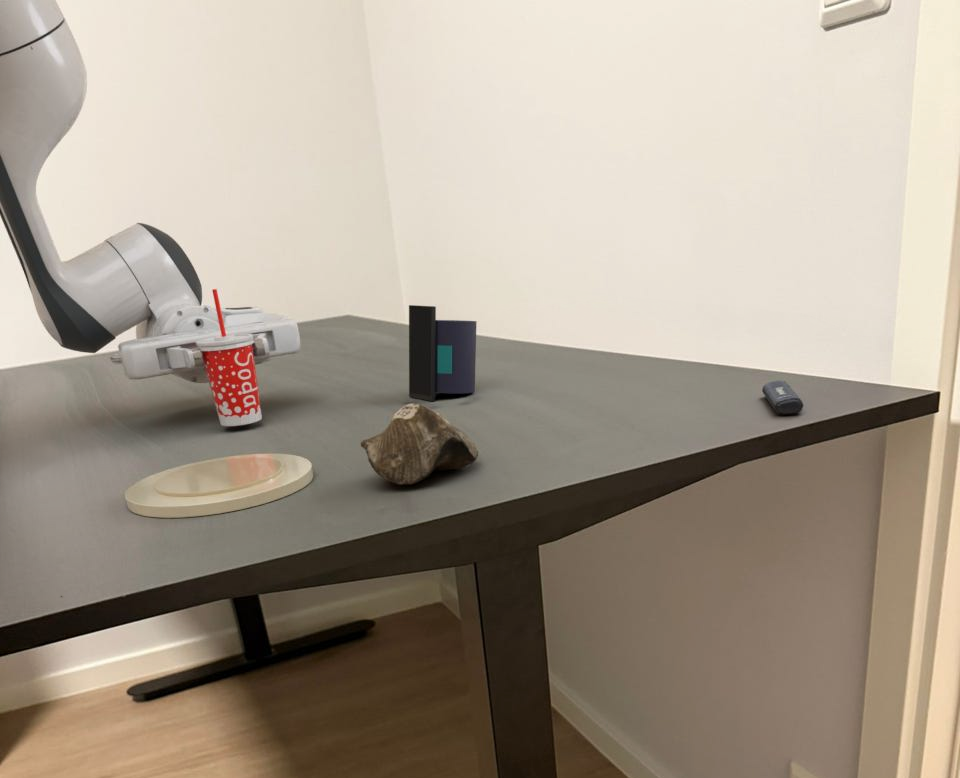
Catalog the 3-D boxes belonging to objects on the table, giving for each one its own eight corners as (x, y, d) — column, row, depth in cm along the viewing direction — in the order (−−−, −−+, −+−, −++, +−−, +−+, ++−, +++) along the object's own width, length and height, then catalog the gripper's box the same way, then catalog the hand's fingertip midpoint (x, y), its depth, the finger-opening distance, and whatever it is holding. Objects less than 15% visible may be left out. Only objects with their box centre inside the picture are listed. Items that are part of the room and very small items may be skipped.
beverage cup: (226, 430, 103) (197, 293, 97) (205, 423, 108) (176, 292, 102) (277, 418, 106) (252, 285, 100) (255, 412, 111) (230, 285, 105)
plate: (98, 525, 77) (93, 510, 76) (163, 472, 91) (159, 459, 91) (293, 508, 76) (290, 492, 75) (327, 457, 90) (325, 443, 90)
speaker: (417, 402, 109) (413, 306, 105) (408, 397, 114) (405, 305, 110) (481, 399, 110) (480, 304, 107) (470, 394, 116) (469, 303, 112)
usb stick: (761, 396, 95) (761, 380, 94) (788, 394, 94) (789, 378, 94) (774, 417, 86) (774, 400, 86) (804, 415, 86) (805, 398, 85)
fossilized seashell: (451, 426, 85) (350, 467, 82) (451, 368, 80) (343, 410, 77) (495, 481, 82) (392, 526, 79) (499, 424, 76) (388, 470, 73)
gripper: (99, 329, 108) (125, 337, 97) (270, 304, 117) (312, 309, 106) (114, 385, 111) (140, 399, 100) (280, 357, 120) (321, 367, 109)
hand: (230, 353), depth 103 cm, fingers closed on beverage cup, 6 cm apart
